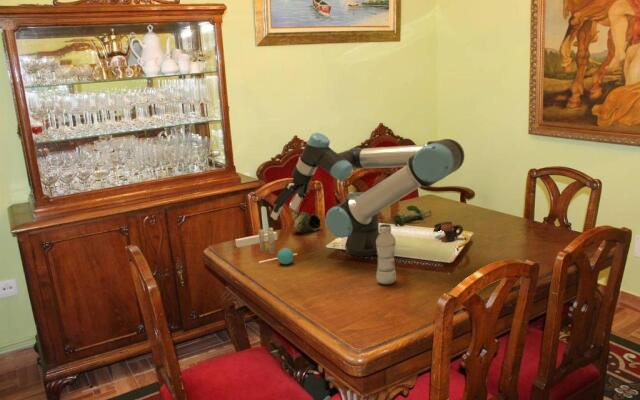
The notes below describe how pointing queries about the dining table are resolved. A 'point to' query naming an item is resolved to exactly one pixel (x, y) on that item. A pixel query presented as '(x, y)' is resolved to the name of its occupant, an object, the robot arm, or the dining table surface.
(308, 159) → the robot arm
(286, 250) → the ball
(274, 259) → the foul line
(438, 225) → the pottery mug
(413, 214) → the figure
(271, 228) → the pin
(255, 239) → the back rail
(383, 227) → the plastic bottle
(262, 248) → the pin
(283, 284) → the dining table surface
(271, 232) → the pin front
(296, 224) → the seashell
